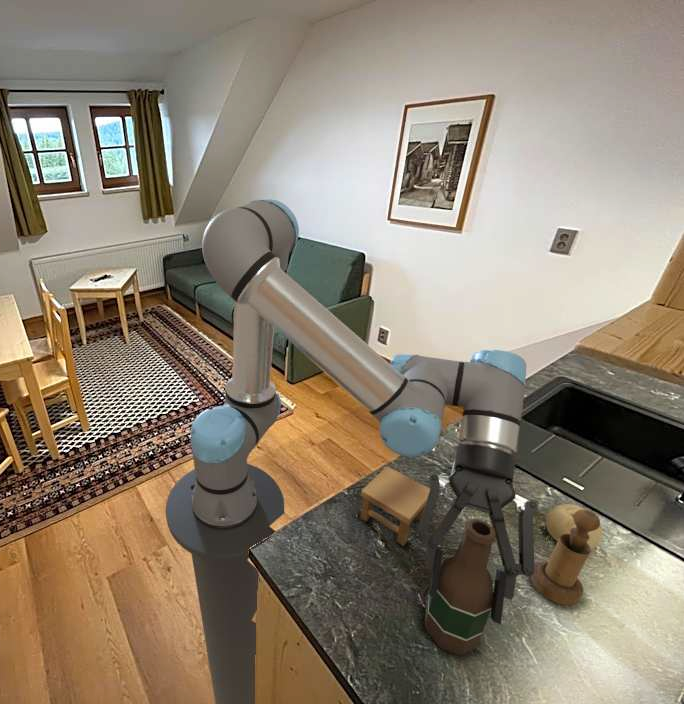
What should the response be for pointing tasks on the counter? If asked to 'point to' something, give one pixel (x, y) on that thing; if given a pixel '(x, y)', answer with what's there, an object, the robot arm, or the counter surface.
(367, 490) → the stool
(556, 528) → the onion
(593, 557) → the counter surface
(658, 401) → the counter surface
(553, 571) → the mortar and pestle
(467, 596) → the beer bottle
